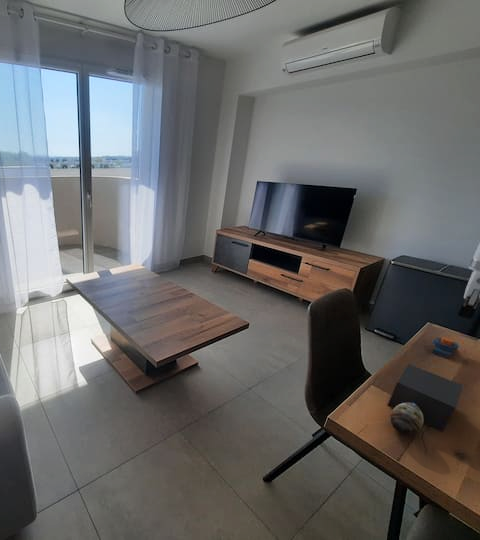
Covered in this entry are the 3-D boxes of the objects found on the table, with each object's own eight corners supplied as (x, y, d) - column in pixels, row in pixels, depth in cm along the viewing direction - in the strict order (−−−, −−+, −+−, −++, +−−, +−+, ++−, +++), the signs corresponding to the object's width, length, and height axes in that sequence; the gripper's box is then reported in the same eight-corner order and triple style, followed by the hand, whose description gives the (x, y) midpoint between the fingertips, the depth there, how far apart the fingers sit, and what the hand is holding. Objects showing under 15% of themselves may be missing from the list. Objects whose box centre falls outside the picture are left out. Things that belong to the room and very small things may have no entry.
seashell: (392, 413, 80) (403, 390, 77) (421, 427, 76) (433, 404, 73) (381, 430, 75) (392, 407, 72) (411, 447, 71) (423, 423, 68)
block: (452, 360, 100) (456, 351, 99) (428, 351, 104) (432, 343, 103) (456, 349, 105) (460, 341, 104) (433, 341, 110) (437, 333, 109)
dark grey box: (398, 385, 89) (408, 363, 86) (450, 408, 81) (462, 385, 78) (387, 405, 82) (397, 382, 79) (442, 432, 74) (455, 407, 71)
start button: (451, 346, 102) (453, 342, 101) (439, 342, 104) (441, 338, 103) (452, 343, 103) (454, 339, 103) (440, 339, 106) (442, 335, 105)
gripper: (506, 275, 85) (479, 328, 91) (508, 264, 93) (483, 314, 100) (467, 268, 90) (445, 319, 97) (472, 258, 99) (451, 306, 105)
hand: (464, 316), depth 98 cm, fingers closed
